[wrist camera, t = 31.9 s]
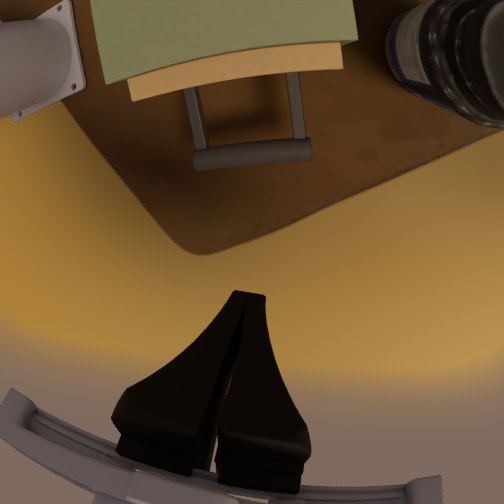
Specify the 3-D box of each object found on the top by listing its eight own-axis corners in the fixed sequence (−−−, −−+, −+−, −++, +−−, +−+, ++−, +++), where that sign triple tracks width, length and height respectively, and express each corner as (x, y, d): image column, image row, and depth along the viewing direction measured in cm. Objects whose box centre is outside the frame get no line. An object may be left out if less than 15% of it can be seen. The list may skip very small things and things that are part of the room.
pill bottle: (483, 60, 13) (600, 89, 4) (432, 118, 16) (530, 187, 8) (416, -9, 12) (511, -50, 3) (361, 52, 15) (425, 47, 6)
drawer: (339, 140, 18) (350, 173, 13) (191, 154, 20) (155, 189, 15) (297, -103, 9) (291, -149, 4) (149, -71, 11) (101, -97, 6)
